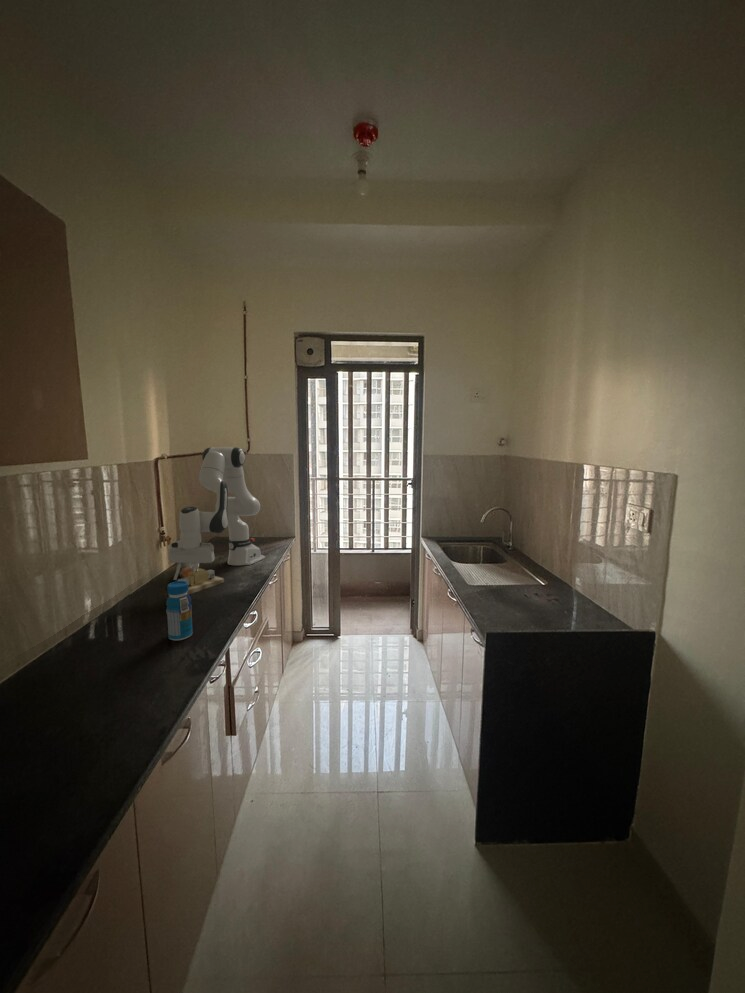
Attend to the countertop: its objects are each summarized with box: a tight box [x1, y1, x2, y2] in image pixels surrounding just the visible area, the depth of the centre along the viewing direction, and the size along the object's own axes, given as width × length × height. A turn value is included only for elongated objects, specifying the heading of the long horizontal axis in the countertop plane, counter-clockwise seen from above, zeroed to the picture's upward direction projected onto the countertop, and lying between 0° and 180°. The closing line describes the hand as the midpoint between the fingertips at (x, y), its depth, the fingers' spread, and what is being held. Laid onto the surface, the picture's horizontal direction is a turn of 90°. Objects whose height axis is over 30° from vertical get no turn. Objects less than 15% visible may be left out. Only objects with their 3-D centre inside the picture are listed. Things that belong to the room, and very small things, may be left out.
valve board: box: [187, 575, 225, 596], centre depth 194 cm, size 22×12×2 cm, turn 149°
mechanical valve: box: [168, 563, 193, 584], centre depth 200 cm, size 10×18×15 cm
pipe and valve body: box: [177, 567, 216, 586], centre depth 193 cm, size 18×5×8 cm, turn 149°
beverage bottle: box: [165, 580, 194, 642], centre depth 144 cm, size 8×8×20 cm
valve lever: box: [182, 563, 200, 576], centre depth 187 cm, size 13×3×3 cm, turn 1°
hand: (192, 571), depth 183 cm, fingers closed
